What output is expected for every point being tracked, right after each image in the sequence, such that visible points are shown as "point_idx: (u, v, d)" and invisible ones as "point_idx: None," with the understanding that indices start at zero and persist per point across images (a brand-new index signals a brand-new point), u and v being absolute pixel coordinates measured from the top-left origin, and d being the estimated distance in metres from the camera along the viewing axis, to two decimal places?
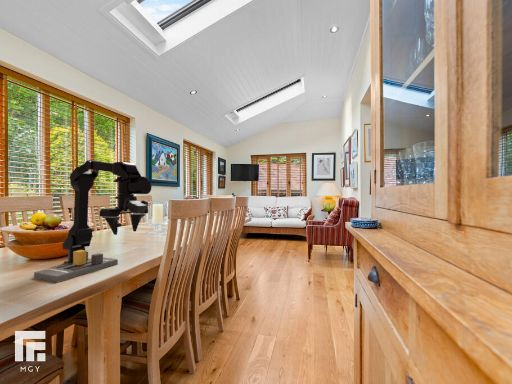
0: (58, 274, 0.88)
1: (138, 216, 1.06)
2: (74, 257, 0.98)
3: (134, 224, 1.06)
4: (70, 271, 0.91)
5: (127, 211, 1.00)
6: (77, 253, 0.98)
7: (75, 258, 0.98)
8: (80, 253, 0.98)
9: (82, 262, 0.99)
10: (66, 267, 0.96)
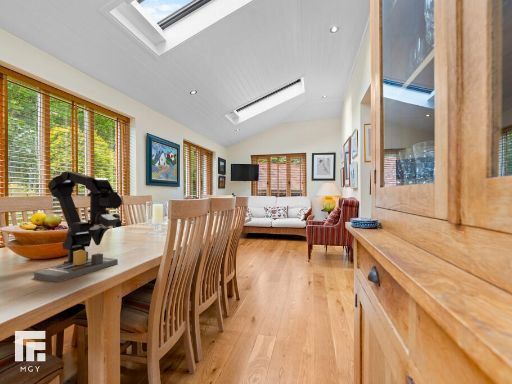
0: (58, 274, 0.88)
1: (102, 229, 1.06)
2: (74, 257, 0.98)
3: None
4: (70, 271, 0.91)
5: None
6: (77, 253, 0.98)
7: (75, 258, 0.98)
8: (80, 253, 0.98)
9: (82, 262, 0.99)
10: (66, 267, 0.96)
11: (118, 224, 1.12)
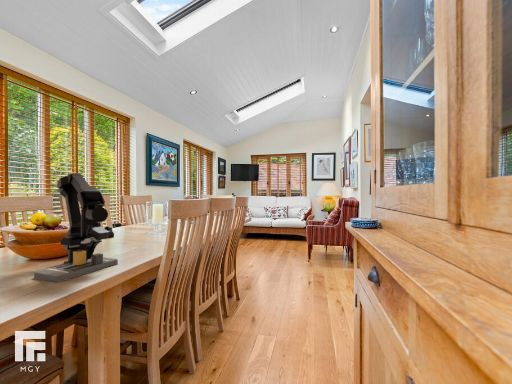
0: (58, 274, 0.88)
1: (93, 243, 1.03)
2: (74, 257, 0.98)
3: None
4: (70, 271, 0.91)
5: None
6: (77, 253, 0.98)
7: (75, 259, 0.98)
8: (80, 253, 0.98)
9: (82, 262, 0.99)
10: (66, 267, 0.96)
11: (110, 236, 1.09)
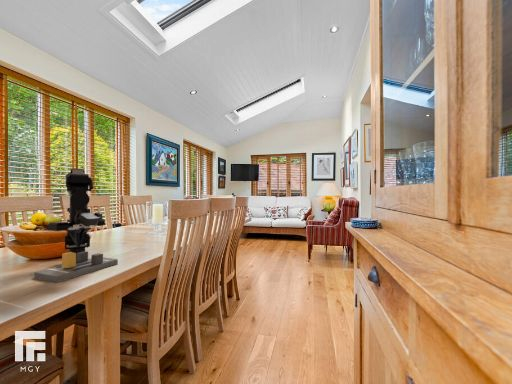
0: (58, 274, 0.88)
1: (83, 230, 0.99)
2: (63, 259, 0.94)
3: None
4: (70, 271, 0.91)
5: None
6: (66, 255, 0.94)
7: (64, 261, 0.94)
8: (69, 255, 0.94)
9: (71, 265, 0.95)
10: None
11: (101, 224, 1.04)
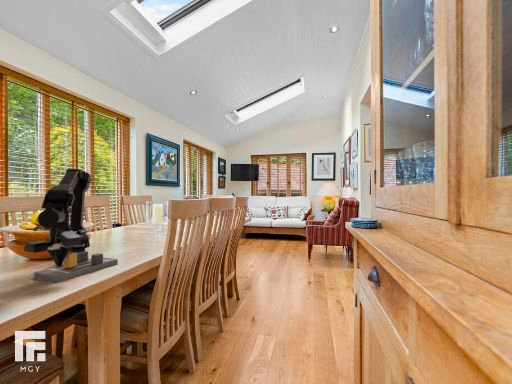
0: (58, 274, 0.88)
1: (64, 249, 0.92)
2: (64, 259, 0.95)
3: None
4: (70, 271, 0.91)
5: None
6: (67, 255, 0.94)
7: (66, 261, 0.95)
8: (70, 255, 0.95)
9: (73, 264, 0.95)
10: (66, 267, 0.96)
11: (85, 241, 0.98)
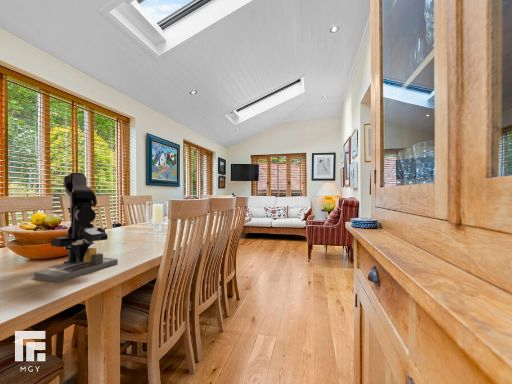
0: (58, 274, 0.88)
1: (85, 244, 1.00)
2: (85, 254, 1.02)
3: None
4: (70, 271, 0.91)
5: None
6: (88, 251, 1.02)
7: (86, 256, 1.02)
8: (90, 251, 1.02)
9: None
10: (66, 267, 0.96)
11: (104, 238, 1.06)
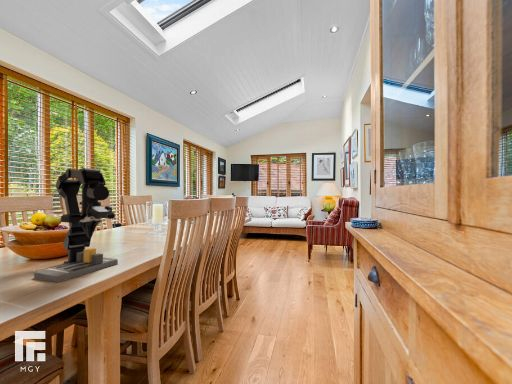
0: (58, 274, 0.88)
1: (94, 222, 1.03)
2: (84, 255, 1.02)
3: None
4: (70, 271, 0.91)
5: None
6: (87, 251, 1.01)
7: (86, 256, 1.02)
8: (90, 251, 1.02)
9: None
10: (66, 267, 0.96)
11: (111, 217, 1.09)
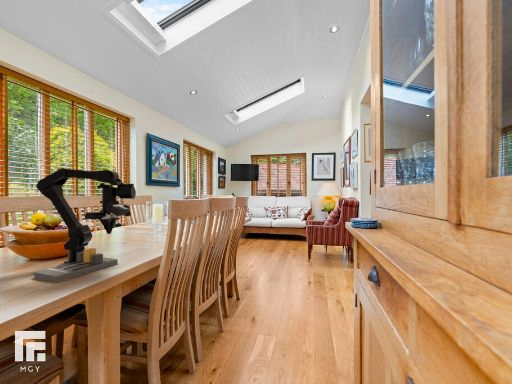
0: (58, 274, 0.88)
1: (113, 219, 1.13)
2: (84, 255, 1.02)
3: None
4: (70, 271, 0.91)
5: None
6: (87, 251, 1.01)
7: (86, 256, 1.02)
8: (90, 251, 1.02)
9: None
10: (66, 267, 0.96)
11: (128, 214, 1.19)
